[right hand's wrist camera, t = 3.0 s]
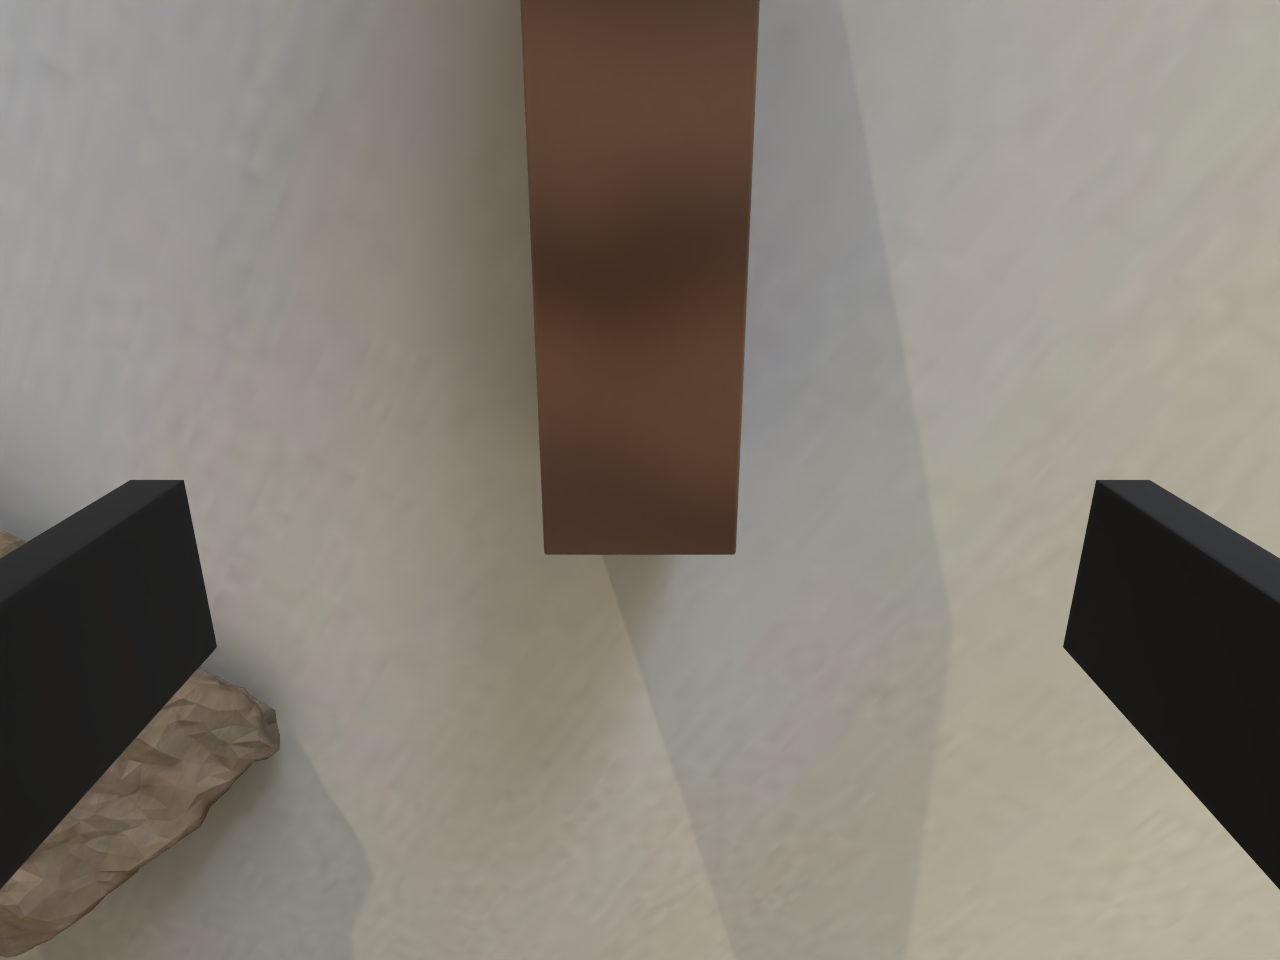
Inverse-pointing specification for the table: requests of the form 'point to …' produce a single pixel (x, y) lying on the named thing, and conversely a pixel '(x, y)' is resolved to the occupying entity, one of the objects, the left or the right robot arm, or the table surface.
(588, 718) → the table surface
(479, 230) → the table surface
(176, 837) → the stone
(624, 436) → the walnut beam
